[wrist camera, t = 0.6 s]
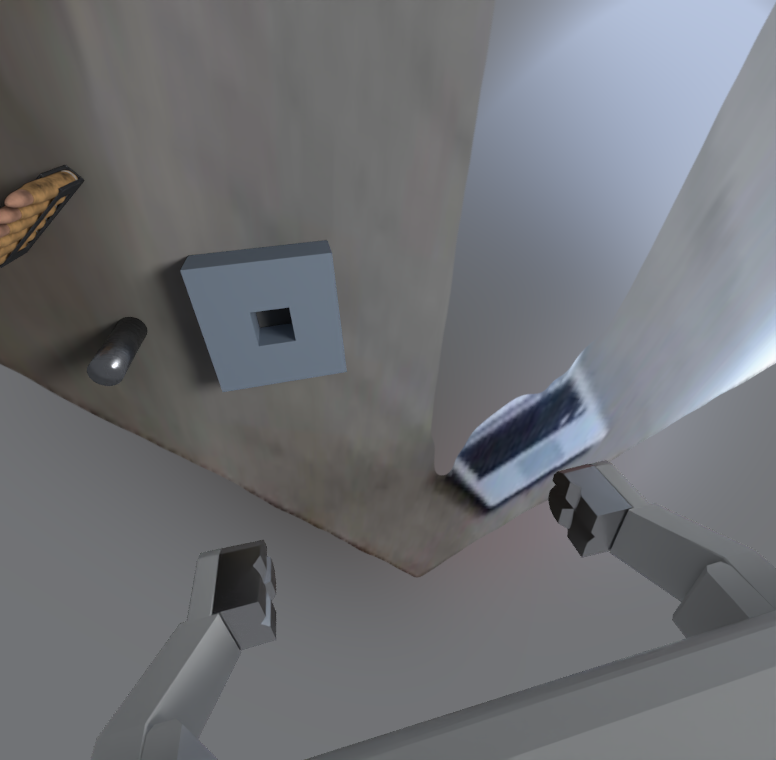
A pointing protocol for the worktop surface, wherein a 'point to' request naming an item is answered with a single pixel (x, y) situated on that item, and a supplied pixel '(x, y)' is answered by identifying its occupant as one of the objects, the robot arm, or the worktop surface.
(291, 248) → the bore block
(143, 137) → the worktop surface
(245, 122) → the worktop surface
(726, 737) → the robot arm
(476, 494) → the worktop surface
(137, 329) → the steel pin
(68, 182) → the ammunition clip
